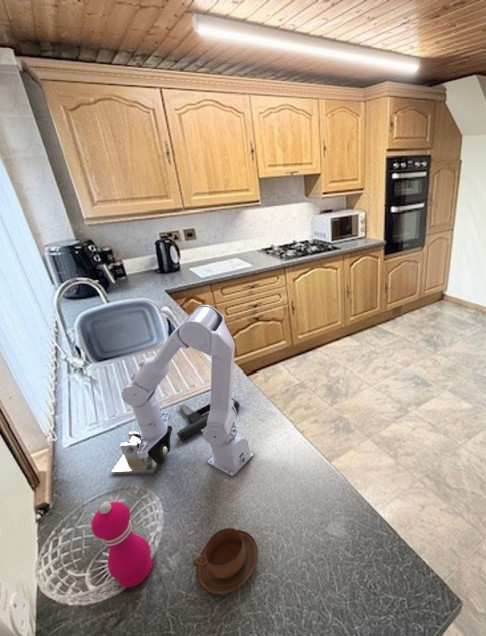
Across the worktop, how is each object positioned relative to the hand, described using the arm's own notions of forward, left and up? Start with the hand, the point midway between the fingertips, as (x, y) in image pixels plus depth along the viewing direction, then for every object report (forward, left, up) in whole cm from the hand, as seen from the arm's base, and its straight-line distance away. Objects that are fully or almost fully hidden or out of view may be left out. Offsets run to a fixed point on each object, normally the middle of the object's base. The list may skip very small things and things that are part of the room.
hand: (163, 456), depth 95 cm
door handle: (+4, -18, -2) cm, 18 cm away
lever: (+3, +2, +2) cm, 4 cm away
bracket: (+5, +3, -1) cm, 6 cm away
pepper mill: (-20, +21, -2) cm, 29 cm away
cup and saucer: (-36, +11, -2) cm, 37 cm away
